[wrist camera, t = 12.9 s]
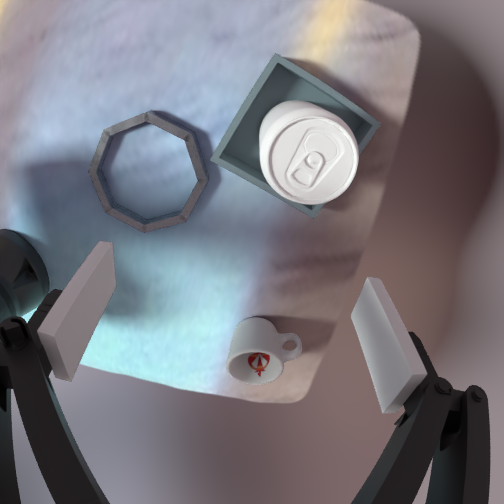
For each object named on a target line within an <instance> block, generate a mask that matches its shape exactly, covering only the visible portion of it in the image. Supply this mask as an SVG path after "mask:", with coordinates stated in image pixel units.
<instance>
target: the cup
mask: <svg viewBox="0 0 504 504" xmlns="http://www.w3.org/2000/svg"><path fill="white" fill-rule="evenodd" d="M289 340H292V341H294V342H295V343H296V348H295V349H294V350H292V351H286V350H284V349H283V344H284V343H285V342H286V341H289ZM301 352H302V342H301V339H300V337H299V336H298V335H297V334H295V333H283V334H279V333H278V332H277V330H276V328H275V326H274V325H273V324H272V323H271V322H270V321H268V320H266V319H263V318H259V317H252V318H248V319H245V320H243V321H241V322H240V323H239V324H238V325H237V326H236V328H235V330H234V333H233V337H232V342H231V346H230V350H229V354H228V359H227V363H226V368H227V371H228V373H229V374H230V376H231V377H232V378H234V379H235V380H237V381H239V382H241V383H245V384H250V385H260V384H266V383H269V382H272V381H274V380H275V379H277V378H278V377H279V376H280V375H281V374H282V372H283V369H284V362H286V361H289V360H293V359H295V358H297V357H298V356H300V354H301Z"/></svg>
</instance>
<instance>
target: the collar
mask: <svg viewBox="0 0 504 504" xmlns="http://www.w3.org/2000/svg"><path fill="white" fill-rule="evenodd" d="M146 121H147V122H149V123H151V124H153V125H155V126H157V127H159V128H161V129H163V130H165V131H167V132H169V133H171V134H173V135H175V136H177V137H179V138H181V139H183V140H185V143H186V146H187V149H188V152H189V155H190V158H191V161H192V164H193V167H194V170H195V173H196V176H197V179H198V182H197V184H196V186H195V187H194V189H193V191H192V193H191V195H190V197H189V199H188V201H187V203H186V204H185V206H184V208H183V210H182V211H178V212H175V213H171V214H167V215H164V216H160V217H156V218H153V219H149V220H147V219H145V218H143V217H141V216H139V215H137V214H135V213H133V212H131V211H129V210H127V209H125V208H124V207H122V206H120V205H118V204H116V203H115V202H114V200H113V197H112V195H111V192H110V190H109V187H108V185H107V183H106V180H105V178H104V175H103V173H102V170H101V167H102V164H103V162H104V159H105V156H106V154H107V151H108V148H109V146H110V143H111V141H112V138H113V136H114V134H115V133H118V132H120V131H123V130H125V129H128V128H130V127H133V126H135V125H138V124H140V123H143V122H146ZM88 172H89V174H90V177H91V179H92V182H93V184H94V187H95V189H96V191H97V194H98V196H99V199H100V201H101V203H102V206H103V208H104V210H105V212H106V213H107V214H109V215H111V216H113V217H115V218H117V219H119V220H121V221H123V222H125V223H126V224H128V225H130V226H132V227H134V228H136V229H138V230H140V231H142V232H144V233H145V232H149V231H152V230H156V229H160V228H164V227H168V226H171V225H175V224H179V223H183V222H186V220H187V218H188V217H189V215H190V213H191V211H192V209H193V207H194V205H195V204H196V202H197V200H198V198H199V196H200V194H201V193H202V191H203V189H204V187H205V185H206V184H207V182H208V179H209V176H208V173H207V170H206V167H205V163H204V160H203V157H202V154H201V151H200V148H199V145H198V141H197V138H196V135H195V132H193V131H191V130H190V129H188V128H186V127H184V126H182V125H180V124H178V123H176V122H174V121H172V120H170V119H168V118H166V117H164V116H161V115H159V114H157V113H155V112H153V111H148V112H146V113H143V114H140V115H138V116H135V117H133V118H130V119H128V120H125V121H123V122H120V123H118V124H116V125H113V126H111V127H109V128H106V129H104V130H103V133H102V135H101V138H100V141H99V143H98V146H97V149H96V151H95V154H94V157H93V160H92V163H91V166H90V169H89V171H88Z"/></svg>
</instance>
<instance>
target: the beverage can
mask: <svg viewBox="0 0 504 504" xmlns="http://www.w3.org/2000/svg"><path fill="white" fill-rule="evenodd" d="M259 146H260V164H261V169H262V172H263V174H264V177H265V178H266V180H267V182H268V183H269V185H270V186H271V187H272V188H273V189H274V190H275V191H276V192H277V193H278V194H280V195H281V196H283V197H284V198H286V199H288V200H291V201H293V202H297V203H301V204H308V205H315V204H322V203H326V202H328V201H331V200H333V199H335V198H336V197H338V196H339V195H341V194H342V193H343V192H344V191H345V190H346V189H347V188H348V187H349V185H350V184H351V182H352V181H353V179H354V176H355V174H356V171H357V167H358V161H359V151H358V145H357V141H356V139H355V136H354V134H353V132H352V131H351V129H350V128H349V126H348V125H347V124H346V123H345V122H344V121H343V120H342V119H341V118H339V117H338V116H336V115H335V114H333V113H331V112H329V111H327V110H325V109H323V108H321V107H319V106H316V105H314V104H312V103H310V102H307V101H302V100H290V101H285V102H282V103H280V104H278V105H276V106H275V107H273V108H272V109H271V110H270V111H269V112H268V113H267V114H266V116H265V117H264V119H263V121H262V123H261V126H260V132H259Z"/></svg>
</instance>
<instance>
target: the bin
mask: <svg viewBox="0 0 504 504" xmlns="http://www.w3.org/2000/svg"><path fill="white" fill-rule="evenodd" d="M290 100H302V101H307V102H310V103H312V104H314V105H316V106H319V107H321V108H323V109H325V110H327V111H329V112H331V113H333V114H335V115H336V116H338V117H339V118H341V119H342V120H343V121H344V122H345V123H346V124H347V125H348V126H349V128H350V129H351V131H352V132H353V134H354V136H355V139H356V141H357V145H358V151H359V155H360V154H361V152H362V151H363V149H364V148H365V147H366V145H367V144H368V142H369V141H370V139H371V138H372V137H373V135H374V134H375V132H376V131H377V129H378V128H379V127H380V125H381V124H380V123H379V122H378V121H377V120H375V119H374V118H373V117H371V116H370V115H369V114H367V113H366V112H365V111H363V110H362V109H361V108H359V107H358V106H357V105H355V104H354V103H352V102H351V101H350V100H348V99H347V98H345V97H344V96H343V95H341V94H340V93H338V92H337V91H335V90H334V89H332V88H331V87H329V86H328V85H326V84H325V83H323V82H322V81H320V80H319V79H317V78H316V77H314V76H313V75H311V74H309V73H308V72H306V71H305V70H303V69H301V68H300V67H298V66H296V65H295V64H293V63H291V62H290V61H288V60H286V59H285V58H283V57H281V56H279V55H278V54H276V53H275V54H274V56H273V57H272V59H271V60H270V62H269V63H268V65H267V66H266V68H265V69H264V71H263V73H262V74H261V76H260V77H259V79H258V80H257V82H256V84H255V85H254V87H253V88H252V90H251V92H250V93H249V95H248V96H247V98H246V100H245V101H244V103H243V104H242V106H241V108H240V109H239V111H238V113H237V114H236V116H235V118H234V119H233V121H232V123H231V124H230V126H229V128H228V130H227V131H226V133H225V135H224V136H223V138H222V140H221V142H220V143H219V145H218V147H217V149H216V150H215V152H214V154H213V156H212V157H211V159H210V161H212V162H214V163H216V164H218V165H220V166H221V167H223V168H225V169H227V170H229V171H231V172H233V173H234V174H236V175H238V176H240V177H242V178H244V179H245V180H247V181H249V182H251V183H253V184H254V185H256V186H258V187H260V188H262V189H263V190H265V191H267V192H269V193H270V194H272V195H274V196H276V197H277V198H279V199H281V200H283V201H284V202H286V203H288V204H290V205H291V206H293V207H295V208H296V209H298V210H300V211H302V212H303V213H305V214H307V215H308V216H310V217H312V218H313V219H314V218H315V216H316V215H317V213H318V212H319V211H320V209H321V208H322V207H323V205H324V204H325V203H322V204H315V205H308V204H301V203H297V202H293V201H291V200H288V199H286V198H284V197H283V196H281V195H280V194H278V193H277V192H276V191H275V190H274V189H273V188H272V187H271V186H270V185H269V183H268V182H267V180H266V178H265V177H264V174H263V172H262V169H261V164H260V146H259V132H260V126H261V123H262V121H263V119H264V117H265V116H266V114H267V113H268V112H269V111H270V110H271V109H272V108H273V107H275V106H276V105H278V104H280V103H282V102H285V101H290Z"/></svg>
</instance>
